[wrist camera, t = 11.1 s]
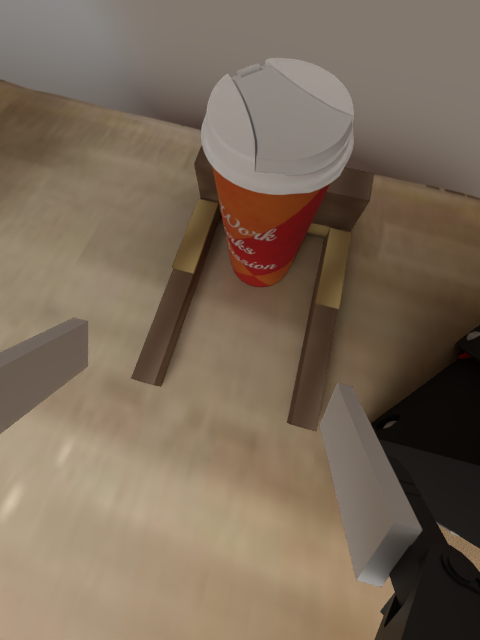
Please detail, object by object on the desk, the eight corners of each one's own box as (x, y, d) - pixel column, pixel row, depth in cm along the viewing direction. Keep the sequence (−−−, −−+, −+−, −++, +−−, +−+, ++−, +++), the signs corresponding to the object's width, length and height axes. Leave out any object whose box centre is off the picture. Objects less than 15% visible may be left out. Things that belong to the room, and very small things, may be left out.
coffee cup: (207, 247, 28) (169, 82, 13) (274, 215, 29) (305, 32, 15) (245, 313, 26) (249, 200, 11) (316, 276, 27) (403, 130, 12)
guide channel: (139, 380, 24) (106, 373, 18) (210, 189, 30) (203, 139, 24) (310, 429, 22) (334, 438, 17) (348, 219, 29) (374, 173, 23)
